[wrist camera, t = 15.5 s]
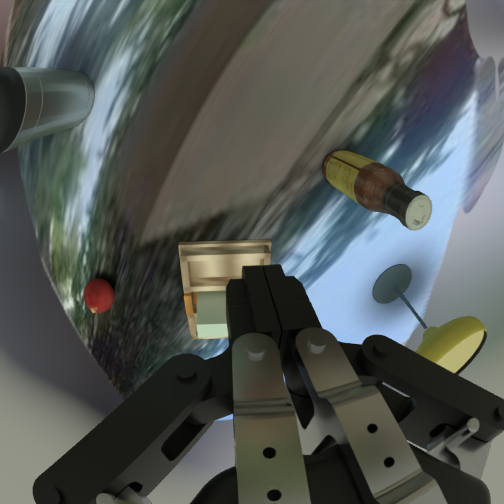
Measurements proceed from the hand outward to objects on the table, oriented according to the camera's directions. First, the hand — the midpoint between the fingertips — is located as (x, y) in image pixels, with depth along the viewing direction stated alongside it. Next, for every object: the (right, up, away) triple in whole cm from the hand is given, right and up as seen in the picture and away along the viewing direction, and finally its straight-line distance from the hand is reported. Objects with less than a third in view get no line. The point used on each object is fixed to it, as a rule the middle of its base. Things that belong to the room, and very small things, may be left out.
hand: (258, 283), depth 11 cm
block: (-5, -6, +38) cm, 38 cm away
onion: (-28, -4, +35) cm, 45 cm away
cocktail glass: (+31, -6, +45) cm, 55 cm away
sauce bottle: (+14, +15, +30) cm, 36 cm away
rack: (-5, -6, +39) cm, 39 cm away
